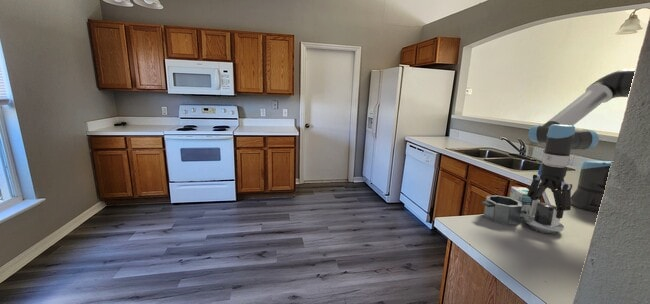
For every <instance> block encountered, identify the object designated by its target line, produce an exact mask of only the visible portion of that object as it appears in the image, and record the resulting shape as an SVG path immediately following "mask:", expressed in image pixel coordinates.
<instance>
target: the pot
mask: <svg viewBox="0 0 650 304" xmlns="http://www.w3.org/2000/svg"><path fill="white" fill-rule="evenodd" d="M481 205H483V206H484V209H483V210H484V211H483V217H484V218H486V219H487V220H490V221H491V222H493V223H497V224H501V225H504V226H505V225H506V226H512V225H513V226H514V225H519V223H520V218H521V216H520V214H521V208H522V205H525V203H524V202H521V201H519V200H515V199H513V198H510V196H503V195H497V194H496V195H487V196H486V198H485V201H481Z"/></svg>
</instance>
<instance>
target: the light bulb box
mask: <svg viewBox="0 0 650 304" xmlns="http://www.w3.org/2000/svg"><path fill="white" fill-rule="evenodd" d="M529 189H530V188H528V187H521V186H511V187H510V192H509V193H510V194H509V198H513V199H515V200H519V201H521V202H524V203H525V205H522V208H521V214H520V218H521V217H523V218H524V217H525V216H528V215H530V212H531V206H530V205H531V198H530V197H528V196H527V194H528V191H529ZM537 200H539V199H537Z"/></svg>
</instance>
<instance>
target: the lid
mask: <svg viewBox="0 0 650 304" xmlns="http://www.w3.org/2000/svg"><path fill="white" fill-rule="evenodd" d="M554 209H557V208H556V205H553V204H551V203H546V202H540V203H537V207H536V212H535V216H531V215H528V216H525V217H523V221H524V223H526V224H528V226H529V227H530V228H531V229H532V230H534V231H536V230H537V231H536V232H538V233H539V232H540V233H542V232H543V234H547V235H548V234H549V235H552V234H555V233H559V232H563V231H564V229H565V225H563V223H561V222H559V225H558V226H552V225H551V222H552V217H553V212H554Z"/></svg>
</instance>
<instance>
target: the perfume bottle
mask: <svg viewBox="0 0 650 304" xmlns="http://www.w3.org/2000/svg"><path fill="white" fill-rule="evenodd" d="M542 164H544V163H543V162H542ZM542 164H540V166H538V172H537V175H541V174H542V173H541V167H542Z"/></svg>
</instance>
